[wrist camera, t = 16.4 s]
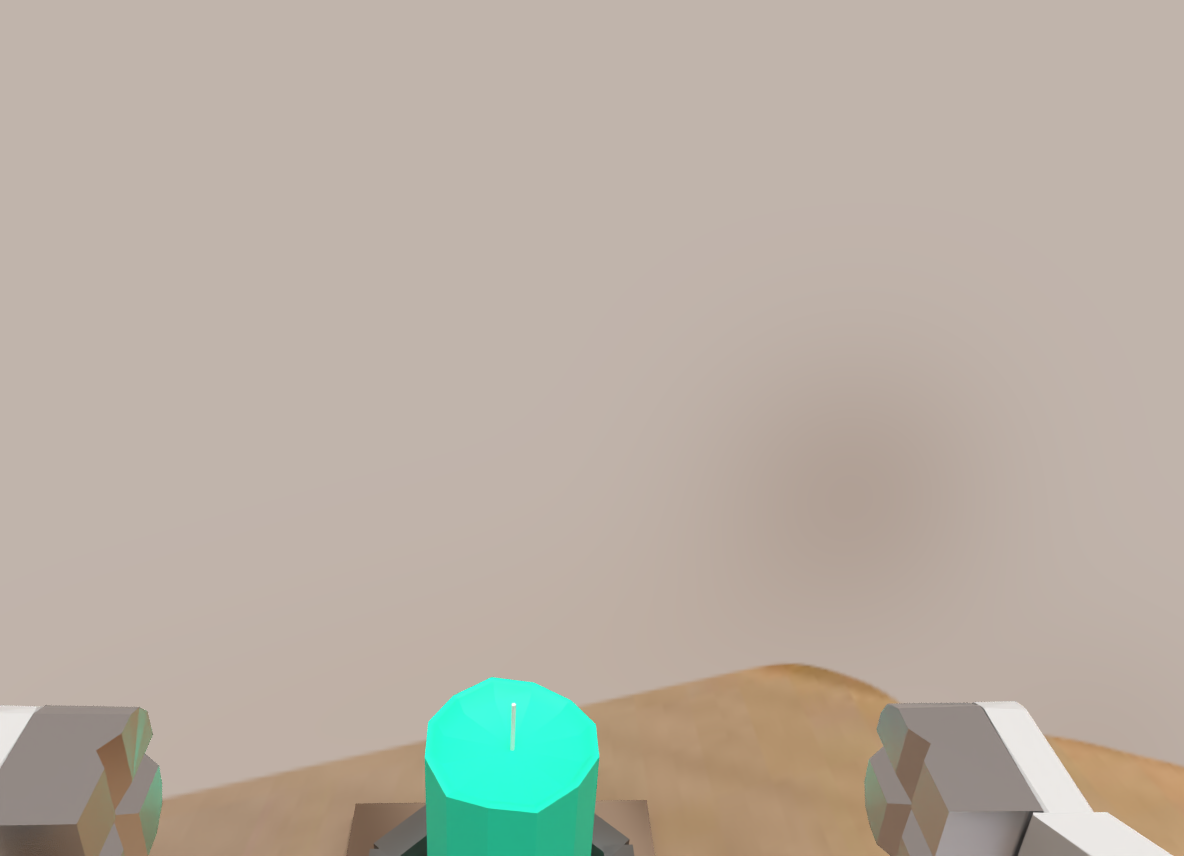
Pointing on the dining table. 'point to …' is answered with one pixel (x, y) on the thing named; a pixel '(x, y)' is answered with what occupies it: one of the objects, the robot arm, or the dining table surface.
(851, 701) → the dining table surface
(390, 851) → the collar holder
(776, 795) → the dining table surface
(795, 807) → the dining table surface
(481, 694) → the candle
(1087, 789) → the dining table surface
